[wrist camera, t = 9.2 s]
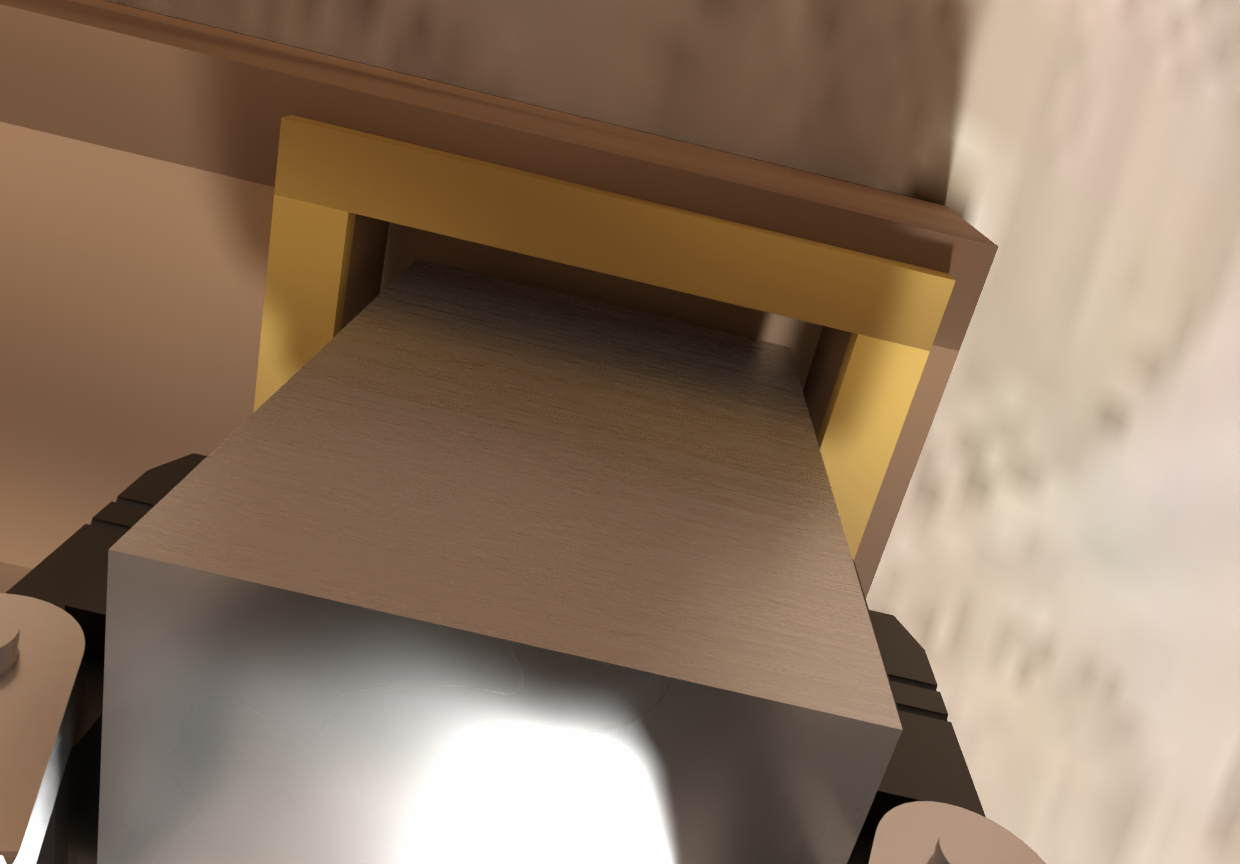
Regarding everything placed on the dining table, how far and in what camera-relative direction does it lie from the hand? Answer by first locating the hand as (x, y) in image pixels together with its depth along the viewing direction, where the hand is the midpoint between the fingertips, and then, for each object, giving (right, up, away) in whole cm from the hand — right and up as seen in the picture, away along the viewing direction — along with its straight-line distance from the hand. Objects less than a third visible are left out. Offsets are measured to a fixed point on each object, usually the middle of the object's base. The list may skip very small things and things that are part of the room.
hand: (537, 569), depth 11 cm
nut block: (0, +1, +2) cm, 3 cm away
